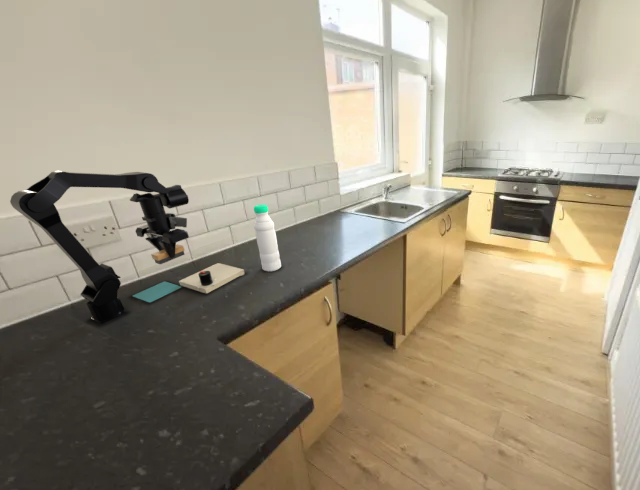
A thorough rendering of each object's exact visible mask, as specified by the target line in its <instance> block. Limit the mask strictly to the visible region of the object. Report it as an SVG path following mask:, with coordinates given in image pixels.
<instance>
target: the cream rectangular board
mask: <svg viewBox="0 0 640 490" xmlns="http://www.w3.org/2000/svg"><path fill="white" fill-rule="evenodd" d="M201 271H210V273H211V276H212V280H213V283H212V284H210V285H208V286H202V285H201V282H200V278H199V275H198V274H199V273H200V271H198V272H195V273H193V274H191V275H189V276H187V277H184V278H182V279H180V280H178V283H179V286H181V287H184V288H187V289H190V290H194V291H197V292H200V293H203V294H209V293H210V292H212V291H214V290H216V289H218V288H221V287H222V286H223V285H226V284H228V283H229V282H232V281H233V280H235V279H237V278H238V277H241V276H244V275H246V274H245V269H243V268H239V267H236V266H232V265H228V264H224V263H220V262H218V263H215V264H213V265H210V266H209V267H206V268H204V269H202V270H201Z"/></svg>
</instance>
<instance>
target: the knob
mask: <svg viewBox="0 0 640 490" xmlns="http://www.w3.org/2000/svg"><path fill="white" fill-rule="evenodd" d="M199 272H200V273H199V274H198V275H199V278H200V282H201V285H202V286H208V285H210V284H212V283H213V280H212V276H211V273H210V271H202V270H200V271H199Z"/></svg>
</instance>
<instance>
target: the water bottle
mask: <svg viewBox="0 0 640 490" xmlns="http://www.w3.org/2000/svg"><path fill="white" fill-rule="evenodd" d="M253 211H254V214H255V215H256V217H255V219H254V222H253V228H254V231H255V238H256V244H257V248H258V251H259V259H260V261H261V268H262V270H263V271H264V272H268V273H270V272H276V271H278V270H280V269H281V267H282V262H281V261H282V260H281V258H280V251H279V246H278V238H277V233H276V229H275V222H274V221H273V220H272V218H271V217H270V215H269V207H268V205H267V204H257V205H254V206H253Z"/></svg>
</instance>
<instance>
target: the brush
mask: <svg viewBox="0 0 640 490" xmlns="http://www.w3.org/2000/svg"><path fill="white" fill-rule="evenodd" d="M150 256H151V258H152V260H154V262H155V264H158V265H163V264H165V263H168V262H170V261H172V260H175V259H178V258H180V257H182V256H185V247H184V245H181V244H177V243H176V248H175V257H173V258H171V257H170V256H169V255H168V253H167V252H166V251H165V250H161V251H159V250H158V251H157V252H153V253H151V255H150Z"/></svg>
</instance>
